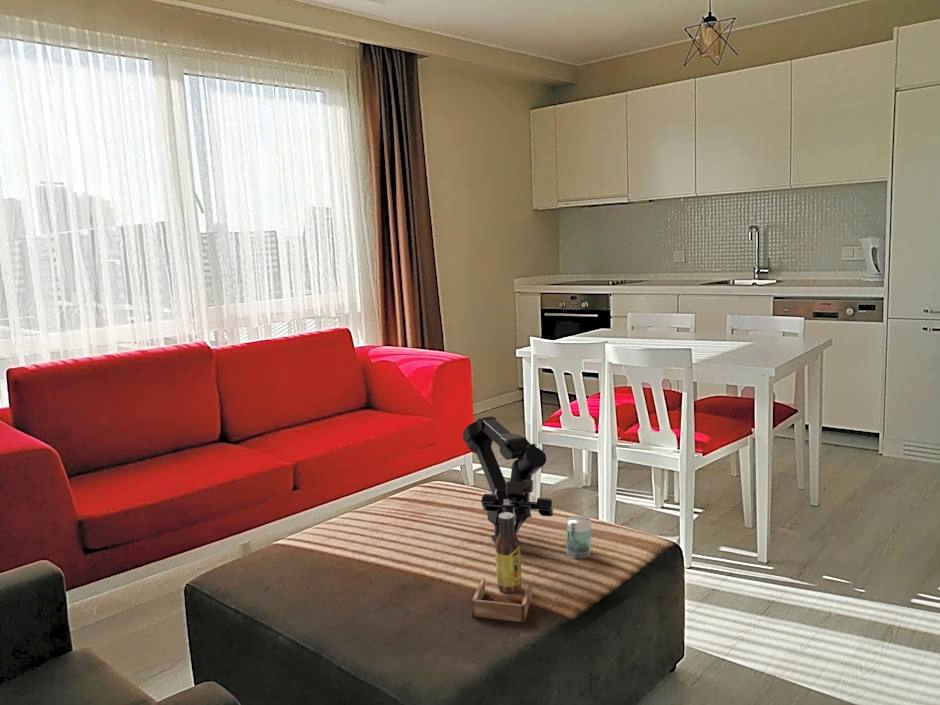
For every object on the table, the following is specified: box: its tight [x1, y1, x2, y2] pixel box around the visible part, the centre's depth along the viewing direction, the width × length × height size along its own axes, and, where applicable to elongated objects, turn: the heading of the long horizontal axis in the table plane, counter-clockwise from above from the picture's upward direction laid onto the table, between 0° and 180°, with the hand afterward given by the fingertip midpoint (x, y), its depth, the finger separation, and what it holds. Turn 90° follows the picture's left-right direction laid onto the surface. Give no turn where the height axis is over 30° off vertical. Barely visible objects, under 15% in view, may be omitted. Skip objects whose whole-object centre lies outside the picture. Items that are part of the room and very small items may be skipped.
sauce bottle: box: [495, 512, 523, 594], centre depth 198 cm, size 7×6×20 cm
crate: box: [471, 577, 533, 623], centre depth 191 cm, size 12×13×4 cm
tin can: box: [566, 515, 592, 559], centre depth 220 cm, size 7×7×10 cm
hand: (513, 535), depth 205 cm, fingers closed
